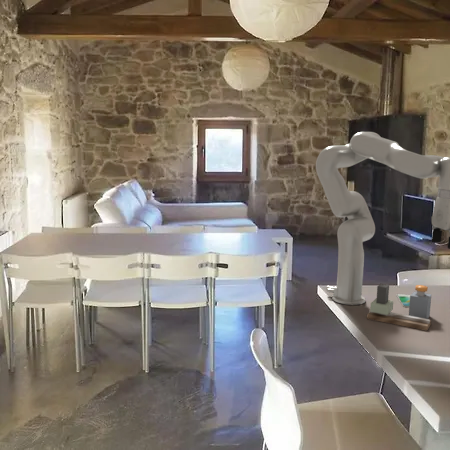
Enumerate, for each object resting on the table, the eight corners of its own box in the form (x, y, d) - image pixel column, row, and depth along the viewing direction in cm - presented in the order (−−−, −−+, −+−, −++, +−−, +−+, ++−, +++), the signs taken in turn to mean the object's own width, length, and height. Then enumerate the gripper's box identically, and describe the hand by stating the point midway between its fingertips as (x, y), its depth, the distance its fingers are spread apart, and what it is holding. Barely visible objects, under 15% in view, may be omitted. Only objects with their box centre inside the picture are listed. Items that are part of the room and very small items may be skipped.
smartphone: (414, 294, 212) (423, 307, 197) (414, 297, 212) (423, 309, 197) (395, 293, 213) (403, 305, 198) (395, 295, 213) (403, 307, 198)
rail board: (366, 318, 185) (367, 311, 184) (372, 313, 191) (372, 306, 190) (426, 330, 175) (427, 323, 174) (430, 324, 181) (431, 317, 180)
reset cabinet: (408, 317, 187) (410, 295, 185) (412, 312, 192) (413, 291, 190) (426, 320, 184) (428, 298, 182) (429, 315, 189) (431, 294, 187)
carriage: (370, 311, 184) (371, 286, 182) (375, 306, 190) (377, 281, 188) (387, 314, 181) (389, 289, 179) (392, 309, 187) (394, 284, 185)
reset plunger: (413, 301, 186) (414, 287, 185) (415, 298, 189) (416, 284, 189) (425, 303, 184) (426, 289, 183) (427, 300, 187) (428, 286, 187)
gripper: (425, 191, 183) (420, 239, 187) (454, 198, 167) (448, 251, 170) (445, 191, 185) (440, 239, 188) (476, 198, 168) (469, 251, 171)
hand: (444, 245), depth 179 cm, fingers open, 9 cm apart
